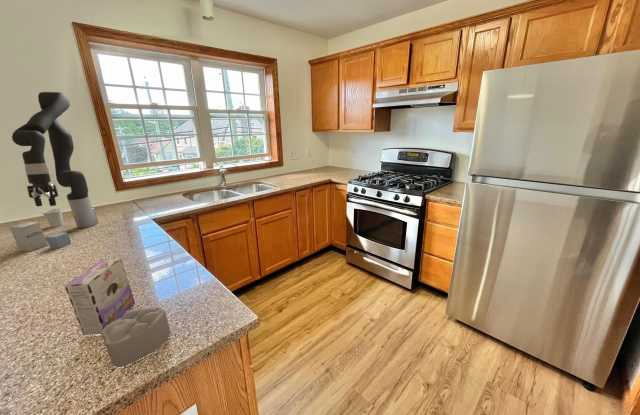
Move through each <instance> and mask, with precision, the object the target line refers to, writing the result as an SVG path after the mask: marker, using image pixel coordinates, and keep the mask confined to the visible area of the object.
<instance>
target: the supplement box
mask: <svg viewBox="0 0 640 415" xmlns="http://www.w3.org/2000/svg"><path fill="white" fill-rule="evenodd" d="M9 229H10V231H11V234H12V236H13V238H14V241H15V244H16V246H17V248H18V250H19V252H32V251H34V250H38V249H40V248H43V247H46V246H48V241H47V238H46V237H45V235H44V232H43V229H42V227H41V224H40V222H39V221H27V222H23V223H19V224H16V225H12V226H9Z"/></svg>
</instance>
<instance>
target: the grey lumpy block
mask: <svg viewBox="0 0 640 415" xmlns="http://www.w3.org/2000/svg"><path fill="white" fill-rule="evenodd" d="M166 314H167V313H166V311H165V309H164V308H163V307H160V306H153V307H151V306H150V307H146V308H140V309H138V310H137V309H129V310H128V311H127V312H126V313H124V314H123V316H122V317H121V318H119V319H117V320H115V321H113V322H112V323H110V324H108V325H107V326H106V327H105V328H104V329H103V330H102V332H101V335H102V336H101V337H102V341H103V343H104V345H105V348H106V351H107V354H108V357H109V356H110V357H111V358H110V357H109V358H110V359H111V362H112V365H113V367H114V366H116V367H122V366H126V365H128V364H130V363H133V362H135V361H137V360H139V359H141V358H143V357H145V356H147V355H148V354H150V353H152V352H154V351H155V350H156V349H158V348H159V347H160V346H161V345H162V344H163V343H164V342H165V341H166V340H167V341H168V339H169V338H168V336H169V334H170V335H171V329H170V326H169V325H170V324H169V322H168V318H167V315H166ZM169 337H170V336H169ZM167 338H168V339H167ZM167 341H166V342H167ZM166 342H165V343H166ZM165 343H164V344H165ZM164 344H163V345H164ZM163 345H162V346H163ZM162 346H161V347H162ZM161 347H160V348H161ZM160 348H159V349H160ZM159 349H158V350H159ZM155 352H156V351H155ZM155 352H154V353H155ZM152 354H153V353H152Z"/></svg>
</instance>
